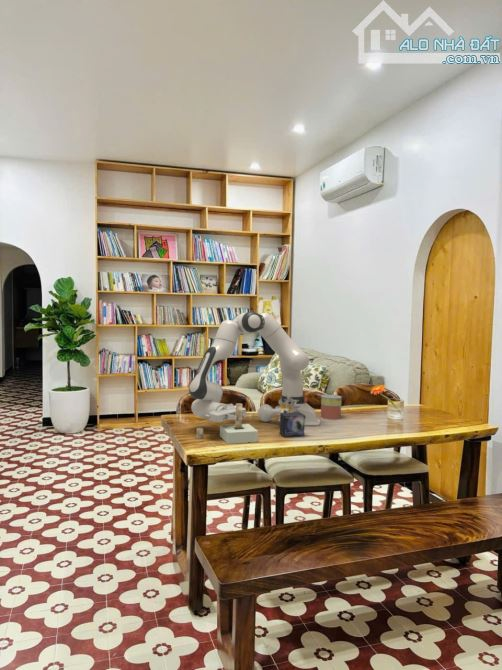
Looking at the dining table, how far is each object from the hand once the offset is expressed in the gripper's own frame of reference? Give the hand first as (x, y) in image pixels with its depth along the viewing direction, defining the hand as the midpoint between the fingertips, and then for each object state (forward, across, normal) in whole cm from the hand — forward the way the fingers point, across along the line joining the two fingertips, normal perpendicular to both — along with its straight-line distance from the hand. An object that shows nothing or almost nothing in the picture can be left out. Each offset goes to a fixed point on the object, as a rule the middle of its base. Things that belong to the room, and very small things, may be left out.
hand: (240, 417), depth 220 cm
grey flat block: (-1, 0, +10) cm, 10 cm away
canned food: (+6, +70, +10) cm, 71 cm away
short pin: (-14, -12, +10) cm, 21 cm away
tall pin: (-1, 0, +8) cm, 8 cm away
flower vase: (-4, +34, +10) cm, 36 cm away
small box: (+13, +23, +10) cm, 28 cm away
